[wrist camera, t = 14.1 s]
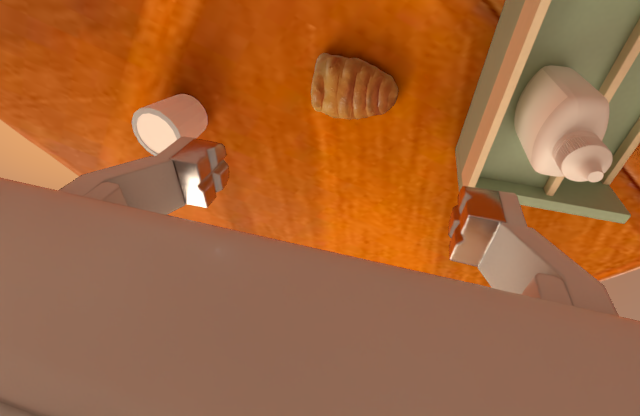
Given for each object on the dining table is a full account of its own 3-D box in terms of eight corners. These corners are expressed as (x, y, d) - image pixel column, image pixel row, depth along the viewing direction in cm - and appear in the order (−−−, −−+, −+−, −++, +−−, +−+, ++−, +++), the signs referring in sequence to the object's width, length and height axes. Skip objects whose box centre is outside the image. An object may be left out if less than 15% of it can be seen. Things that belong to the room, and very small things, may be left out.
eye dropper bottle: (492, 111, 28) (519, 186, 19) (554, 53, 25) (624, 112, 16) (529, 140, 29) (572, 227, 20) (595, 88, 25) (685, 165, 16)
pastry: (405, 60, 34) (402, 70, 31) (392, 121, 38) (388, 135, 36) (317, 49, 36) (307, 58, 33) (315, 109, 40) (305, 121, 37)
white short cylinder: (221, 118, 44) (191, 140, 39) (196, 146, 48) (167, 169, 43) (180, 77, 42) (144, 95, 37) (158, 110, 46) (123, 130, 41)
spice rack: (520, -44, 27) (557, -42, 19) (721, -33, 25) (867, -25, 16) (455, 150, 38) (460, 205, 30) (588, 172, 36) (635, 239, 27)
